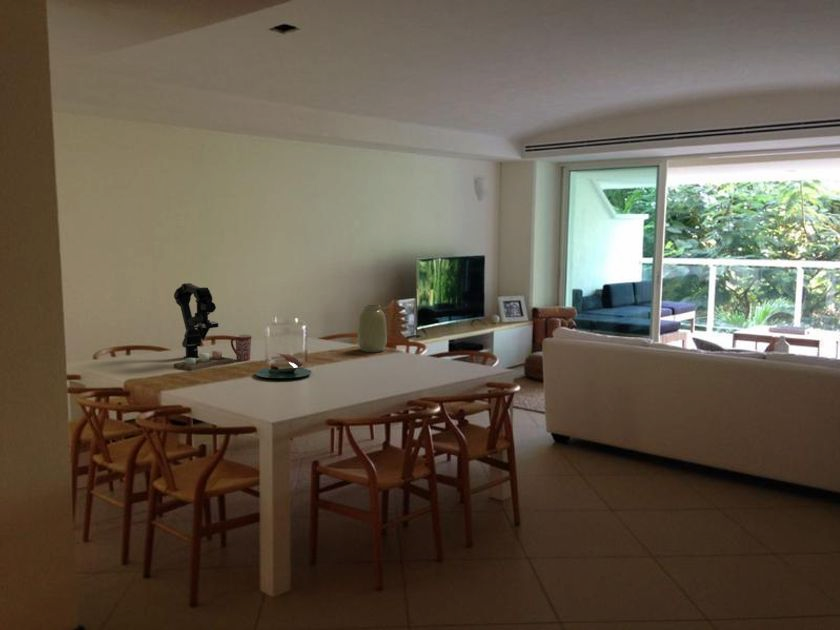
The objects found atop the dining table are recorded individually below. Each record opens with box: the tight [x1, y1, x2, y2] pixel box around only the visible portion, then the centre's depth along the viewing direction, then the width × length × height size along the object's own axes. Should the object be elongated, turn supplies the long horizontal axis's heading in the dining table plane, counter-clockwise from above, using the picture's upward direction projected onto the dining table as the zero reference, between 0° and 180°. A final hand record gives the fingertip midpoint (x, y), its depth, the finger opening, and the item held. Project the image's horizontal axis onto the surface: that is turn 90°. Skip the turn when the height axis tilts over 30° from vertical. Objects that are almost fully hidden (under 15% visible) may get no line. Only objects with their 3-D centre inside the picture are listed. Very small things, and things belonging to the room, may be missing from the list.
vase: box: [357, 304, 388, 353], centre depth 440 cm, size 17×17×27 cm
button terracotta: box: [211, 350, 223, 360], centre depth 396 cm, size 5×5×4 cm
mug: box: [230, 334, 252, 362], centre depth 405 cm, size 13×9×14 cm
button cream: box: [198, 352, 210, 362], centre depth 389 cm, size 5×5×4 cm
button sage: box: [184, 358, 197, 365], centre depth 381 cm, size 5×5×4 cm
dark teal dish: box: [254, 353, 312, 379], centre depth 365 cm, size 28×28×11 cm
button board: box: [173, 356, 234, 371], centre depth 389 cm, size 14×28×2 cm, turn 148°
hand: (202, 339), depth 397 cm, fingers closed
